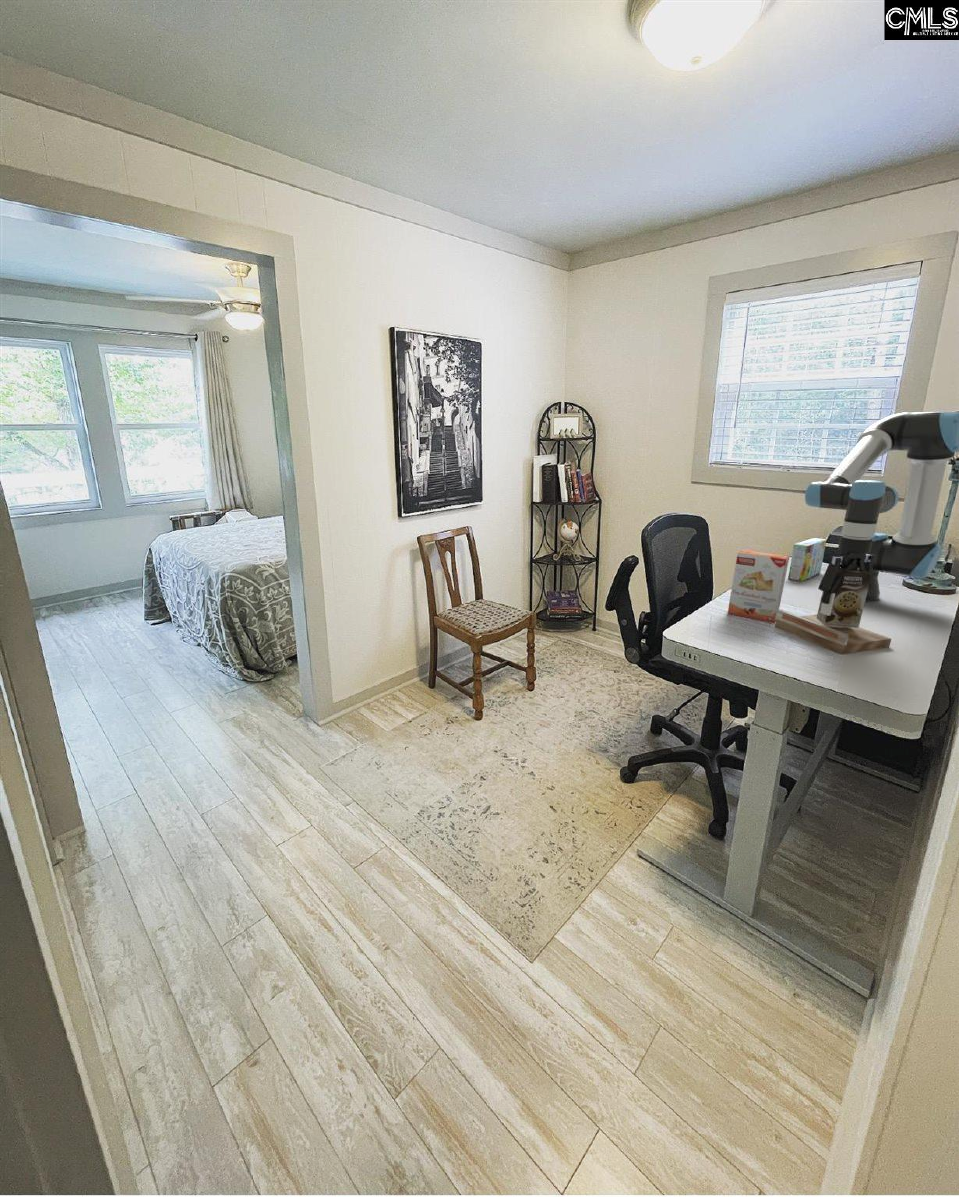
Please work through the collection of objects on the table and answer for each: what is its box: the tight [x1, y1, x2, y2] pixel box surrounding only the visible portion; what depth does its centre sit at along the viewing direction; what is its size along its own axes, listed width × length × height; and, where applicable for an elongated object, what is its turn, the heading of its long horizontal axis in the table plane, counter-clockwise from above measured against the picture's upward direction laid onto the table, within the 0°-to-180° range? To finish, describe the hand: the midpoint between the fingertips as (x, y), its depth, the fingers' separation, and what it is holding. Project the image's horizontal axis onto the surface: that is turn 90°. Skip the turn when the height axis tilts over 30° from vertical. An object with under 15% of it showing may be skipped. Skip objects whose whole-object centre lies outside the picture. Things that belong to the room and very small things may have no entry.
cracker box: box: [727, 549, 790, 623], centre depth 168 cm, size 14×6×21 cm, turn 52°
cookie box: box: [816, 570, 872, 628], centre depth 151 cm, size 9×6×16 cm
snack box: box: [787, 537, 827, 582], centre depth 219 cm, size 21×6×15 cm, turn 130°
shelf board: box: [774, 609, 892, 655], centre depth 154 cm, size 18×22×6 cm
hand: (839, 612), depth 153 cm, fingers closed on cookie box, 10 cm apart
